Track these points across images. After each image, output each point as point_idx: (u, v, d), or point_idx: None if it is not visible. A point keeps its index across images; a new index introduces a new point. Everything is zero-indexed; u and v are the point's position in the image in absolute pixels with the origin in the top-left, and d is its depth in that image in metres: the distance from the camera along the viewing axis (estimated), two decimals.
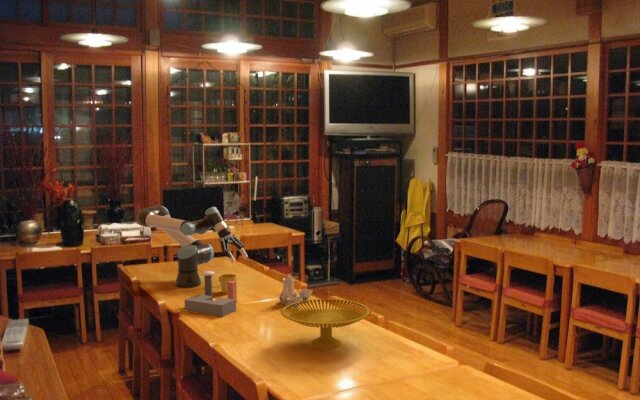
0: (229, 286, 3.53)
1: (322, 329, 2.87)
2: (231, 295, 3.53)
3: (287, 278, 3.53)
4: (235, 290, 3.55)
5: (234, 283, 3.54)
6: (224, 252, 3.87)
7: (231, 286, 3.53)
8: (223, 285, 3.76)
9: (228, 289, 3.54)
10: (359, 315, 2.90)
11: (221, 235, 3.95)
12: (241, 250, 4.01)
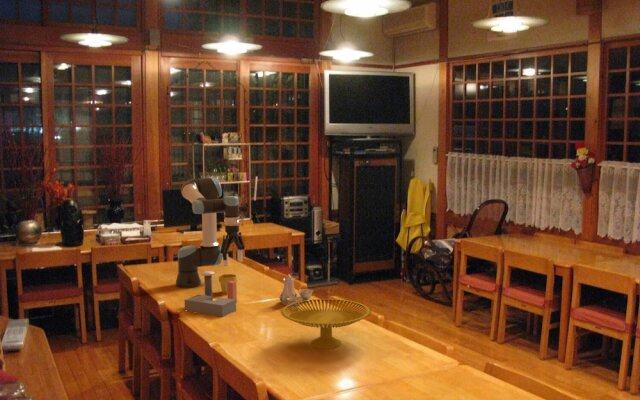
0: (229, 286, 3.53)
1: (322, 329, 2.87)
2: (231, 295, 3.53)
3: (287, 278, 3.53)
4: (235, 290, 3.55)
5: (234, 283, 3.54)
6: (222, 253, 3.46)
7: (231, 286, 3.53)
8: (223, 285, 3.76)
9: (228, 289, 3.54)
10: (359, 315, 2.90)
11: (228, 231, 3.50)
12: (239, 251, 3.60)
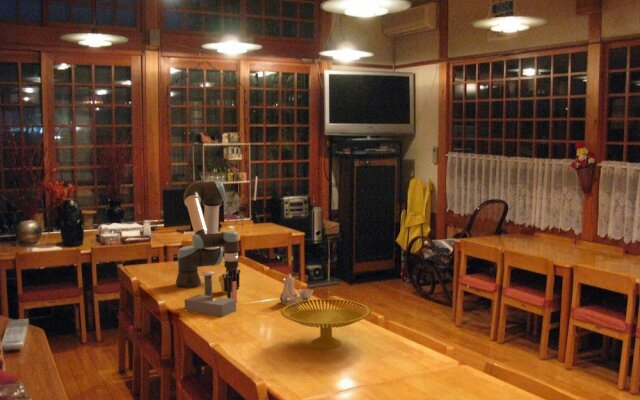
0: None
1: (322, 329, 2.87)
2: None
3: (287, 278, 3.53)
4: (235, 290, 3.55)
5: (234, 283, 3.54)
6: (226, 291, 3.51)
7: None
8: (223, 285, 3.76)
9: None
10: (359, 315, 2.90)
11: (227, 267, 3.50)
12: None
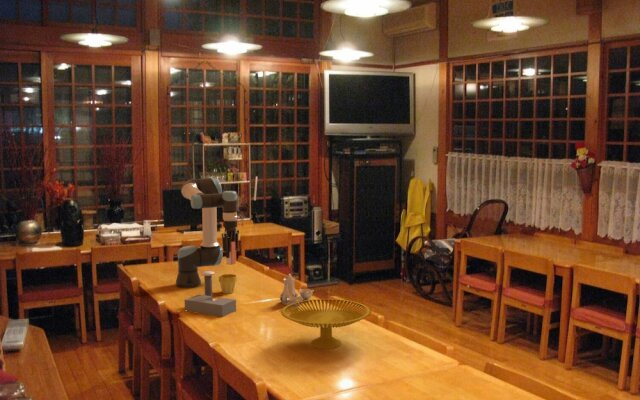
0: None
1: (322, 329, 2.87)
2: None
3: (288, 278, 3.53)
4: (234, 250, 3.53)
5: (233, 243, 3.52)
6: (225, 251, 3.49)
7: (230, 246, 3.51)
8: (223, 285, 3.76)
9: None
10: (359, 315, 2.90)
11: (226, 226, 3.48)
12: None
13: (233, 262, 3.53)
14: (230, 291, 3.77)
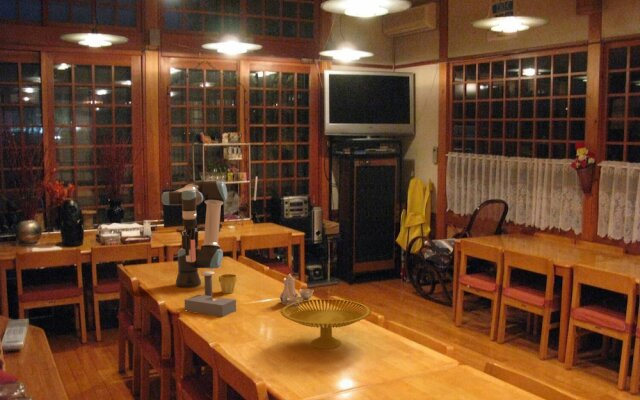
0: None
1: (322, 329, 2.87)
2: None
3: (288, 278, 3.53)
4: (194, 248, 3.59)
5: (192, 241, 3.58)
6: (184, 249, 3.55)
7: None
8: (223, 285, 3.76)
9: None
10: (359, 315, 2.90)
11: (185, 225, 3.54)
12: None
13: (193, 260, 3.59)
14: (230, 291, 3.77)
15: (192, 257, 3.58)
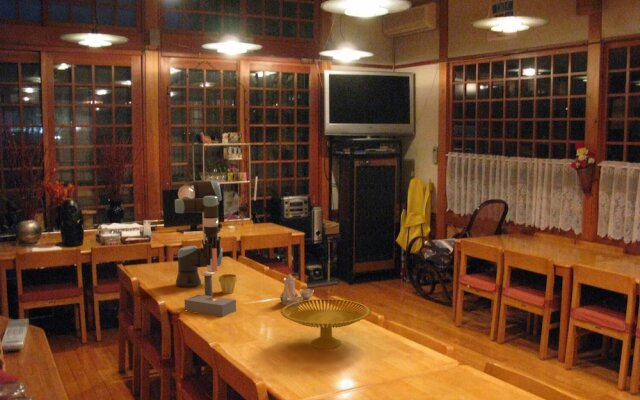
0: None
1: (322, 329, 2.87)
2: None
3: (288, 278, 3.53)
4: (215, 257, 3.41)
5: (214, 250, 3.39)
6: (205, 258, 3.36)
7: (211, 253, 3.39)
8: (223, 285, 3.76)
9: None
10: (359, 315, 2.90)
11: (206, 232, 3.36)
12: None
13: (214, 269, 3.40)
14: (230, 291, 3.77)
15: (214, 267, 3.40)
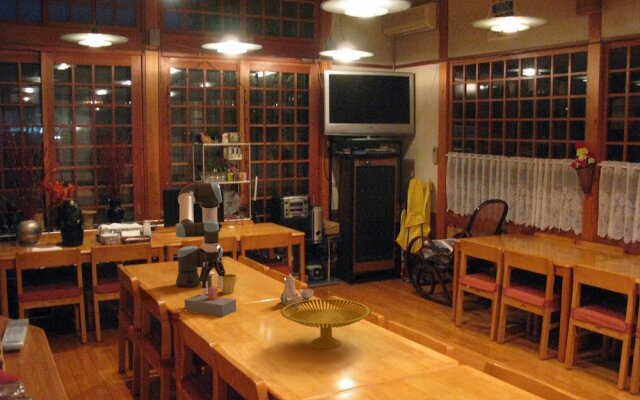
0: (210, 292, 3.42)
1: (322, 329, 2.87)
2: None
3: (288, 278, 3.53)
4: (216, 296, 3.43)
5: (215, 289, 3.42)
6: (201, 281, 3.34)
7: (212, 292, 3.41)
8: (223, 285, 3.76)
9: (209, 295, 3.42)
10: (359, 315, 2.90)
11: (207, 258, 3.38)
12: (219, 278, 3.48)
13: None
14: (230, 291, 3.77)
15: None
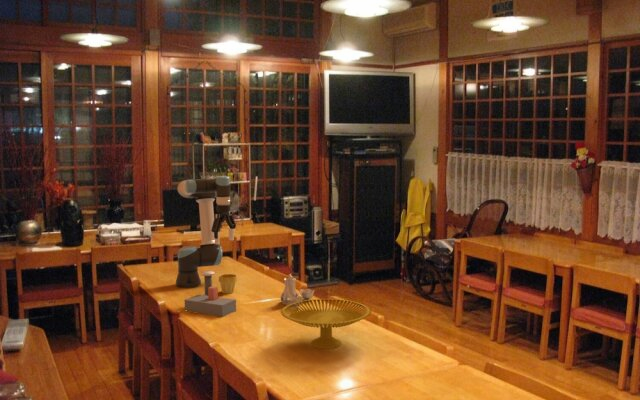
0: (210, 292, 3.42)
1: (322, 329, 2.87)
2: None
3: (288, 278, 3.53)
4: (216, 296, 3.43)
5: (215, 289, 3.42)
6: (213, 231, 3.55)
7: (212, 292, 3.41)
8: (223, 285, 3.76)
9: (209, 295, 3.42)
10: (359, 315, 2.90)
11: (219, 210, 3.59)
12: (230, 230, 3.69)
13: None
14: (230, 291, 3.77)
15: None
